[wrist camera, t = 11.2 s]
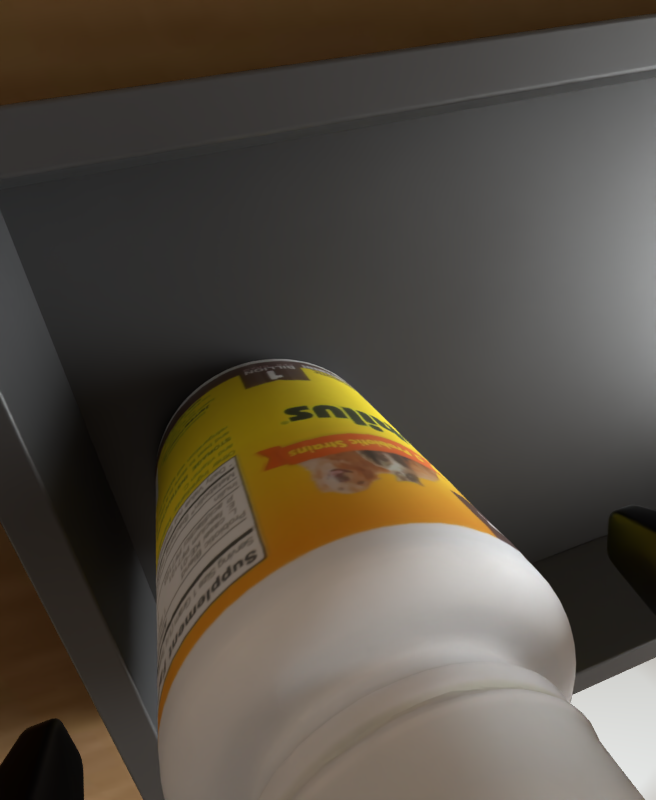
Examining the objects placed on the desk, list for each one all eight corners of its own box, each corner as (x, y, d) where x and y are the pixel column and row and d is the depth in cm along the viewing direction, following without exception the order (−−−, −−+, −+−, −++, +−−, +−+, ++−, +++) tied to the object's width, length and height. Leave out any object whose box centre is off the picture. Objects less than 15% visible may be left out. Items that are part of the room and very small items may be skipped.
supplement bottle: (408, 422, 15) (826, 806, 6) (285, 574, 15) (485, 1140, 6) (244, 302, 12) (521, 645, 3) (105, 489, 13) (3, 1228, 4)
